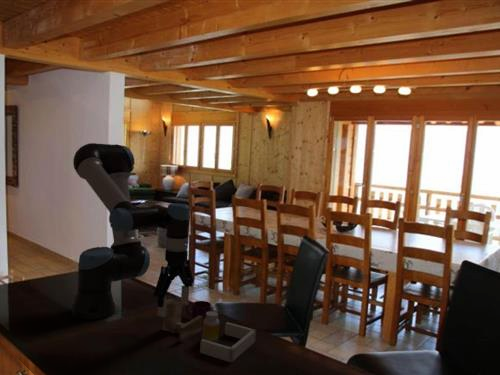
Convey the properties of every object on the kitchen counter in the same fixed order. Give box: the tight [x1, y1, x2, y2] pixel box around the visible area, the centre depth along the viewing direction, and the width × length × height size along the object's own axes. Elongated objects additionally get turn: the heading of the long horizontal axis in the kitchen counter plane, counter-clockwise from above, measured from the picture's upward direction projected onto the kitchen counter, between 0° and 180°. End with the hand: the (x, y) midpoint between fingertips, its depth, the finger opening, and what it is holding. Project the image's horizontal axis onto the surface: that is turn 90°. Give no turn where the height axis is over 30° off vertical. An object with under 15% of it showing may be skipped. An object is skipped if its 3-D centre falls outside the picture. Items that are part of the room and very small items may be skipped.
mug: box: [185, 300, 212, 325], centre depth 160 cm, size 7×10×7 cm
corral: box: [199, 321, 257, 364], centre depth 141 cm, size 11×17×4 cm, turn 155°
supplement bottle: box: [201, 311, 220, 343], centre depth 144 cm, size 5×5×10 cm
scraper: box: [162, 298, 203, 344], centre depth 149 cm, size 11×12×10 cm
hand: (173, 309), depth 150 cm, fingers open, 13 cm apart
